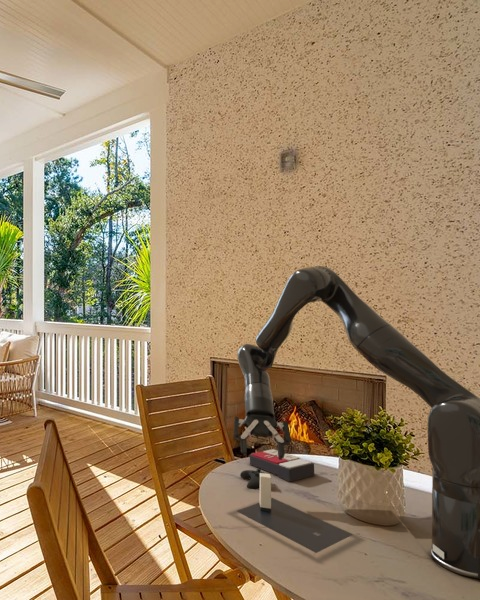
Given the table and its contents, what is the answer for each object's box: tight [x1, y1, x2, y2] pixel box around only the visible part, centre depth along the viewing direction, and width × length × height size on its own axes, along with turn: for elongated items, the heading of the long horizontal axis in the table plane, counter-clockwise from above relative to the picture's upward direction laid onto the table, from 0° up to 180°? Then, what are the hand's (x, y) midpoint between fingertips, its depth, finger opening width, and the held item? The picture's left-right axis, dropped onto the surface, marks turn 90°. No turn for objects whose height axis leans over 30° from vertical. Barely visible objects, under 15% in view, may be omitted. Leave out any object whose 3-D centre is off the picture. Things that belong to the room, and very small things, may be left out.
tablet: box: [236, 497, 354, 554], centre depth 100 cm, size 22×16×1 cm
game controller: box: [239, 468, 265, 490], centre depth 123 cm, size 10×5×6 cm
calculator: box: [249, 448, 315, 482], centre depth 133 cm, size 11×4×15 cm
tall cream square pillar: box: [259, 472, 272, 512], centre depth 106 cm, size 2×2×8 cm
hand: (262, 456), depth 112 cm, fingers open, 8 cm apart
